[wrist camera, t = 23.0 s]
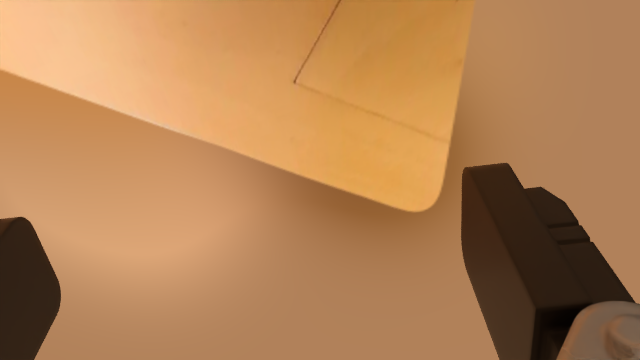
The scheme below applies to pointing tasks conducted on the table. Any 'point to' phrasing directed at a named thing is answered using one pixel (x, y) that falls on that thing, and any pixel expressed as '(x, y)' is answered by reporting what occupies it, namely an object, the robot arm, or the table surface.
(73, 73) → the table surface
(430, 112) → the table surface
